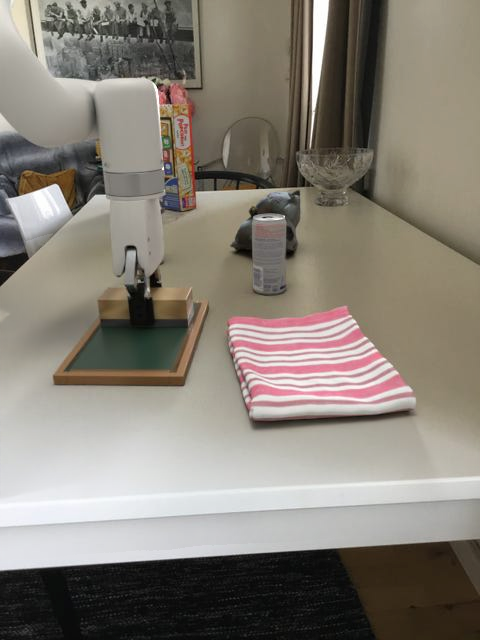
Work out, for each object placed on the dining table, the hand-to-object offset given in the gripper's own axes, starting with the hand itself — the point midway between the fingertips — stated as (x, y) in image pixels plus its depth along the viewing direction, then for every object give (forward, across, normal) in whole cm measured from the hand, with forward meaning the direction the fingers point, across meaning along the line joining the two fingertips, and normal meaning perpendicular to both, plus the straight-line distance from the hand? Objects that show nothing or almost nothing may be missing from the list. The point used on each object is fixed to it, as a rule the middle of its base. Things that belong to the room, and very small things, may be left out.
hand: (147, 315), depth 78 cm
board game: (+2, -87, -15) cm, 88 cm away
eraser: (+1, 0, 0) cm, 1 cm away
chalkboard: (+2, +4, 0) cm, 5 cm away
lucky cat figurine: (+2, -40, +15) cm, 43 cm away
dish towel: (+2, +12, +22) cm, 25 cm away
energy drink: (+2, -16, +16) cm, 23 cm away
